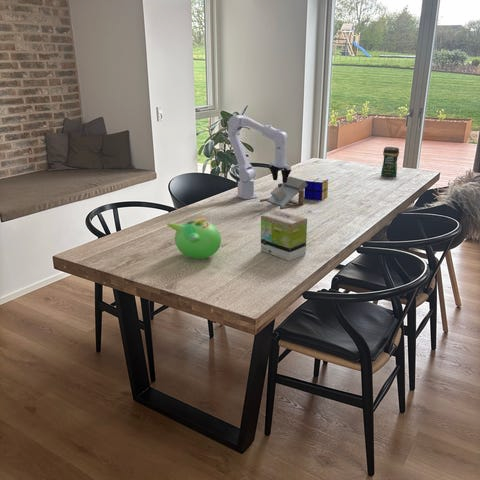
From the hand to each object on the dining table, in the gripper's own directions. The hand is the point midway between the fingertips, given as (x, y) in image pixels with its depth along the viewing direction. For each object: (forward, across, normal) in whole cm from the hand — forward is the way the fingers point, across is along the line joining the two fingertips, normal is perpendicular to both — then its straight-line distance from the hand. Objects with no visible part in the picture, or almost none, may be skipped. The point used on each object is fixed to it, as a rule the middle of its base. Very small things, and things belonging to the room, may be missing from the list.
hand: (279, 181), depth 257 cm
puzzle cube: (+11, +8, +19) cm, 23 cm away
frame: (+10, +4, -2) cm, 12 cm away
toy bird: (+11, +44, -78) cm, 90 cm away
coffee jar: (+10, -4, +96) cm, 97 cm away
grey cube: (+7, +4, -3) cm, 9 cm away
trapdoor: (+6, +5, +2) cm, 8 cm away
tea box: (+11, +61, -50) cm, 79 cm away
